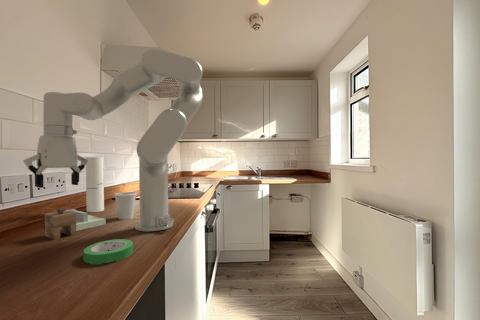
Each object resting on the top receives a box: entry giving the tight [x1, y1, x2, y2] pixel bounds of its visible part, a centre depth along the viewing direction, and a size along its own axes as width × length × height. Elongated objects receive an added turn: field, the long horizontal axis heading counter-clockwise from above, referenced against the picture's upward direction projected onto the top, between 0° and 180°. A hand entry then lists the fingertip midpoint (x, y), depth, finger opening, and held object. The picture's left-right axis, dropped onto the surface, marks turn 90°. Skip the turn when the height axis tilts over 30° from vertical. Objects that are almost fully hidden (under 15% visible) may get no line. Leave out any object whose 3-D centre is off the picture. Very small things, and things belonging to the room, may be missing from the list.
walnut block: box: [44, 208, 77, 240], centre depth 82 cm, size 7×6×8 cm
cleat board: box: [60, 208, 107, 232], centre depth 94 cm, size 16×12×5 cm
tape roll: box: [82, 238, 134, 265], centre depth 64 cm, size 11×11×3 cm
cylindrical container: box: [85, 156, 105, 213], centre depth 120 cm, size 7×7×25 cm
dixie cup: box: [113, 191, 137, 220], centre depth 105 cm, size 8×8×10 cm
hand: (58, 186), depth 81 cm, fingers open, 9 cm apart
